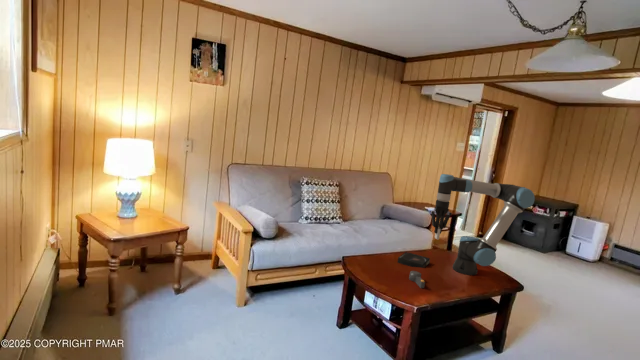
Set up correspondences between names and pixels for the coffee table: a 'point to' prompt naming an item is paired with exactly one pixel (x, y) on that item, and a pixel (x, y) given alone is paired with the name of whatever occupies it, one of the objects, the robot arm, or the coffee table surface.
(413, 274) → the dial
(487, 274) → the coffee table surface
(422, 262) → the portable cd player
